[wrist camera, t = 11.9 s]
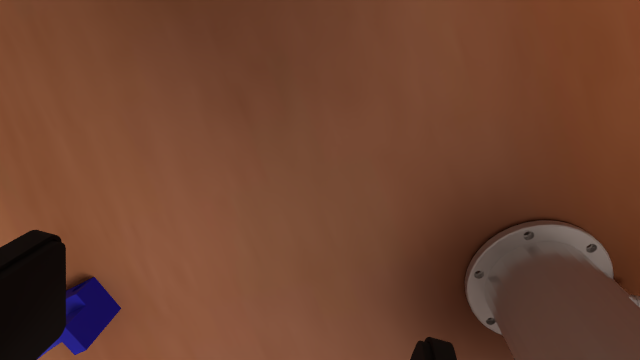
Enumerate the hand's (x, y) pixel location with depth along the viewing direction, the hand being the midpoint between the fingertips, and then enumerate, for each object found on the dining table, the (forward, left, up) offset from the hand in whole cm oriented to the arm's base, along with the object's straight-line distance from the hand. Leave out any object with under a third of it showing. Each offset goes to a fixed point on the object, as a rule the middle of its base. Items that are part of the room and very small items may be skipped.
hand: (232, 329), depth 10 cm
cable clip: (+23, +26, -25) cm, 43 cm away
